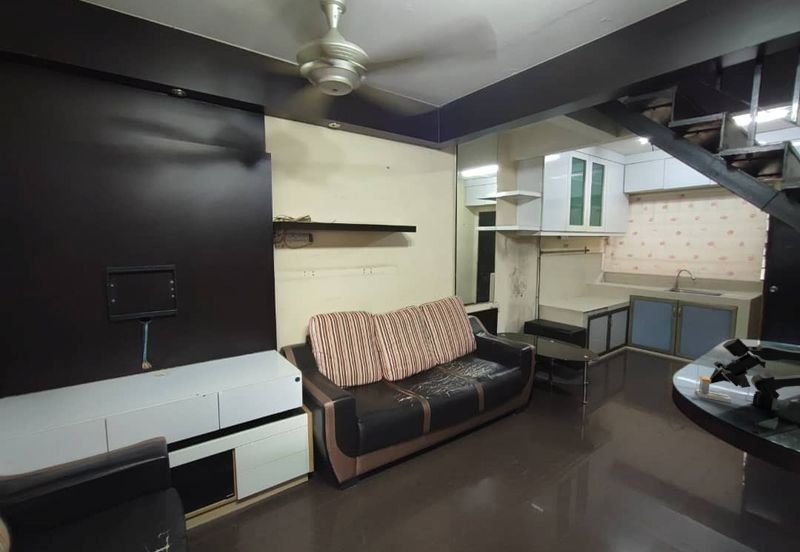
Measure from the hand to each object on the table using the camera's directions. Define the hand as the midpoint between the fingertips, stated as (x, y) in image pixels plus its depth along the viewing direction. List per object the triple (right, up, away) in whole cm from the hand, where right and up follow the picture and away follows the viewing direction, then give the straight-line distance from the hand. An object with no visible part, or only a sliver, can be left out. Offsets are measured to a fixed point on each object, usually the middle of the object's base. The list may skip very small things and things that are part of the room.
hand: (708, 382), depth 165 cm
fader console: (+2, -6, -2) cm, 7 cm away
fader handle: (-2, -4, 0) cm, 5 cm away
